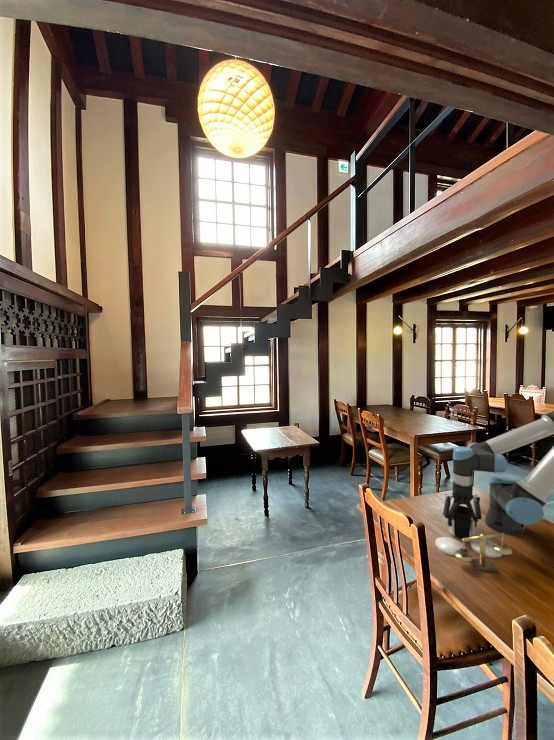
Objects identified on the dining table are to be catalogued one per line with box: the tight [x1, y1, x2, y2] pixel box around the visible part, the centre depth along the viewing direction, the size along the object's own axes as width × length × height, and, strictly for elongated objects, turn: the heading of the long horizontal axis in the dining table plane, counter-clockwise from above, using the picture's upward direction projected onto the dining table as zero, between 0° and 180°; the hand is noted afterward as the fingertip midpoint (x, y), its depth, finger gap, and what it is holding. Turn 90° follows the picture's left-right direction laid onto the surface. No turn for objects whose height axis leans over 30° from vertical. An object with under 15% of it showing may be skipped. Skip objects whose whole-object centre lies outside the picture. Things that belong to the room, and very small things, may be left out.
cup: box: [453, 505, 472, 540], centre depth 138 cm, size 8×8×12 cm
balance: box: [454, 532, 513, 573], centre depth 119 cm, size 20×6×14 cm, turn 83°
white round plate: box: [470, 539, 503, 559], centre depth 129 cm, size 11×11×1 cm
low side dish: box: [435, 536, 467, 557], centre depth 131 cm, size 11×11×1 cm
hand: (461, 533), depth 139 cm, fingers closed on cup, 8 cm apart
